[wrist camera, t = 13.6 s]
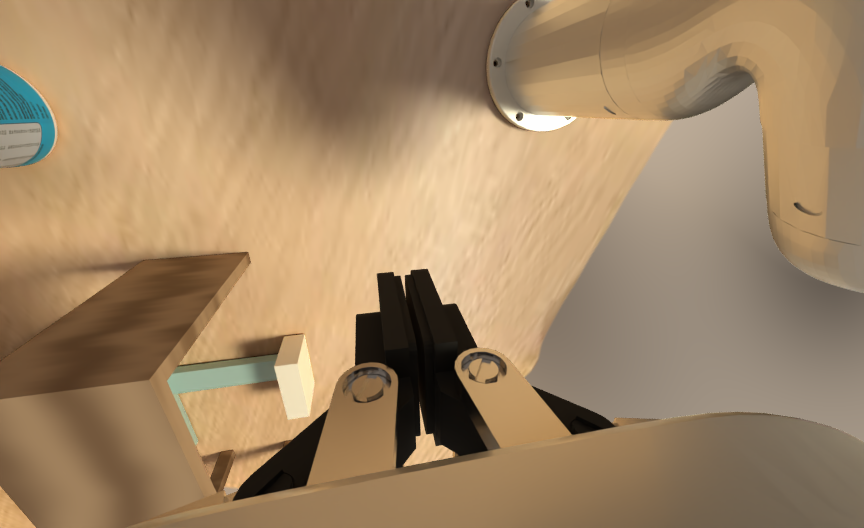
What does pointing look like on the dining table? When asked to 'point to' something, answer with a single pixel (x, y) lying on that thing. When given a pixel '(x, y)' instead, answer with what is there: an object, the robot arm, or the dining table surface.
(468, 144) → the dining table surface
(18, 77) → the beverage bottle
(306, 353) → the mint t-bar
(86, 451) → the tunnel
